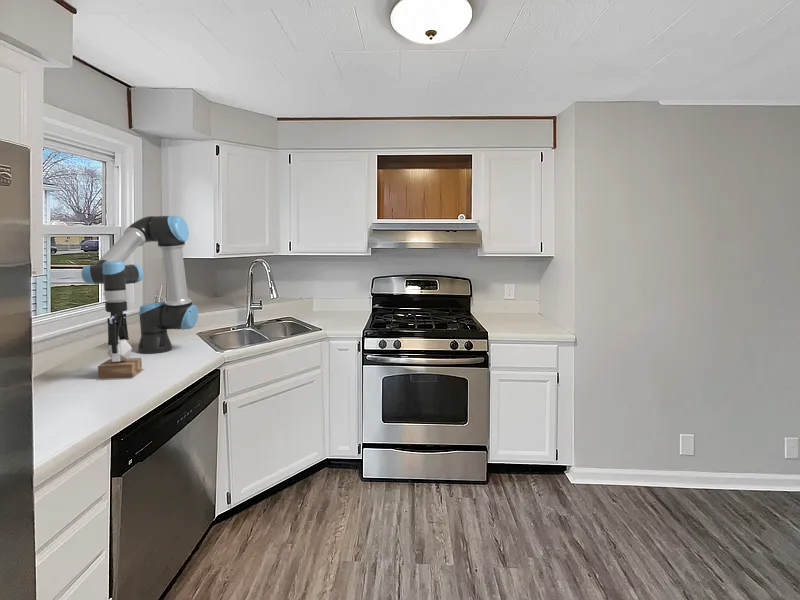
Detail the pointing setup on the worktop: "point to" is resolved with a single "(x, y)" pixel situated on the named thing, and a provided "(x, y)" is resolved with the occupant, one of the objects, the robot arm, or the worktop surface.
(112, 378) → the base plate
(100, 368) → the walnut brick
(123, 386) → the worktop surface
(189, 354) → the worktop surface
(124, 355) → the die
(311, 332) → the worktop surface
